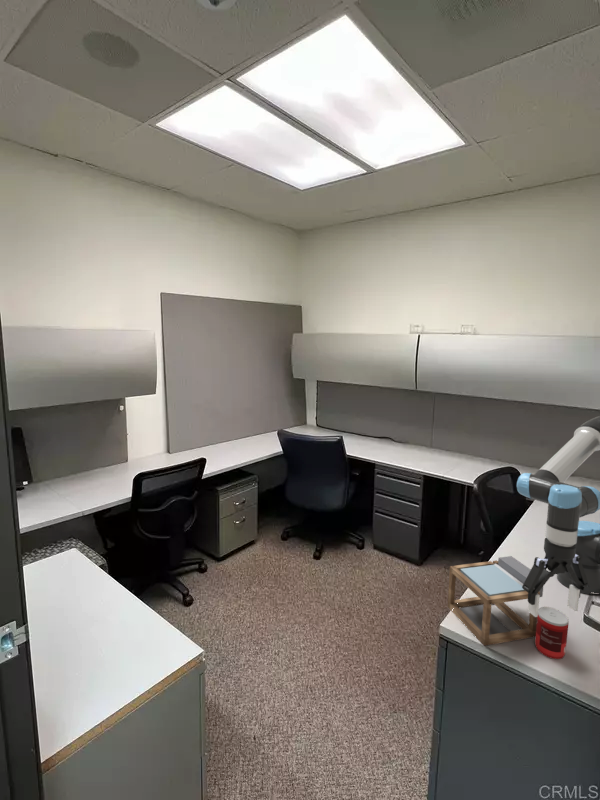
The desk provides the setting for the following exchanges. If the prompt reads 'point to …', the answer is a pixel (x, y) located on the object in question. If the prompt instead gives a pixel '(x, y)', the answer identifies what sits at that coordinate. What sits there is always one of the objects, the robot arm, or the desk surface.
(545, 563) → the robot arm
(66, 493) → the desk surface
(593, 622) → the desk surface
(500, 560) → the trapdoor
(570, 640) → the desk surface
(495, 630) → the frame
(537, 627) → the canned food
